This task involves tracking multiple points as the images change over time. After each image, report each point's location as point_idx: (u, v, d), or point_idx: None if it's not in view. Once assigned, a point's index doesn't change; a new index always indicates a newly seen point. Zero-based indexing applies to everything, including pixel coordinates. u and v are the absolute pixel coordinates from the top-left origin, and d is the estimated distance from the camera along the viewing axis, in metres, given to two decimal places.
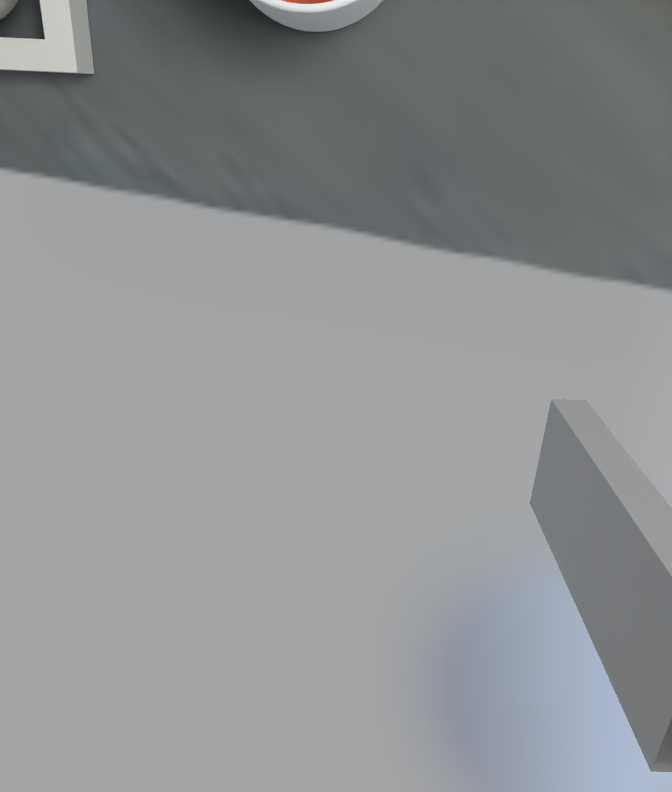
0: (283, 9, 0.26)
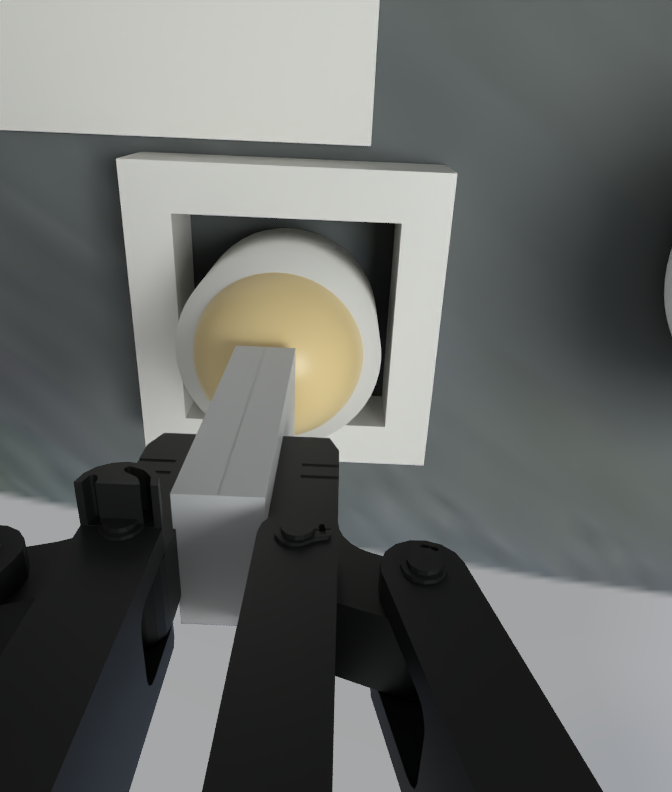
0: None
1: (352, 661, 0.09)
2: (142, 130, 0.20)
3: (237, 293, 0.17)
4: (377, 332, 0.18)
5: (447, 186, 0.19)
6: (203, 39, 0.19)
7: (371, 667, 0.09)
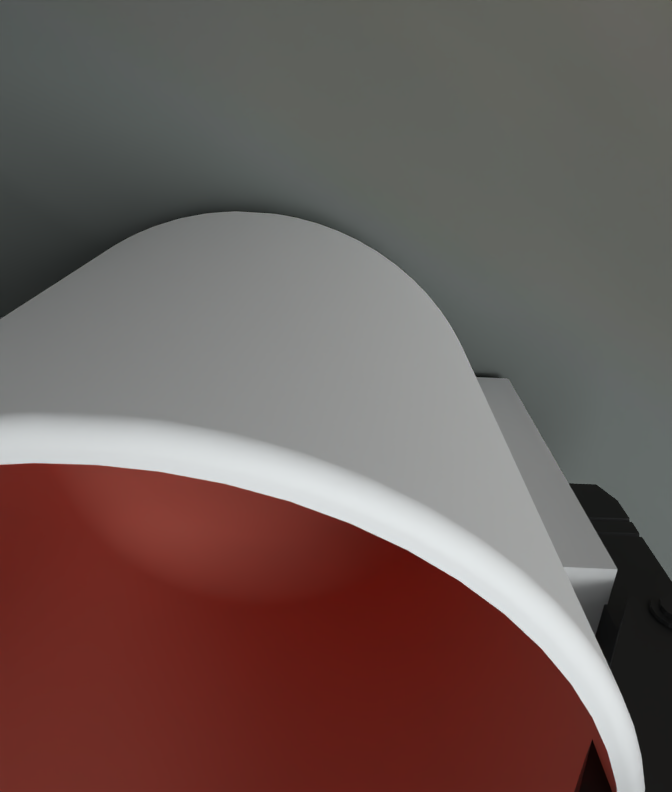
0: None
1: None
2: None
3: None
4: None
5: None
6: None
7: None
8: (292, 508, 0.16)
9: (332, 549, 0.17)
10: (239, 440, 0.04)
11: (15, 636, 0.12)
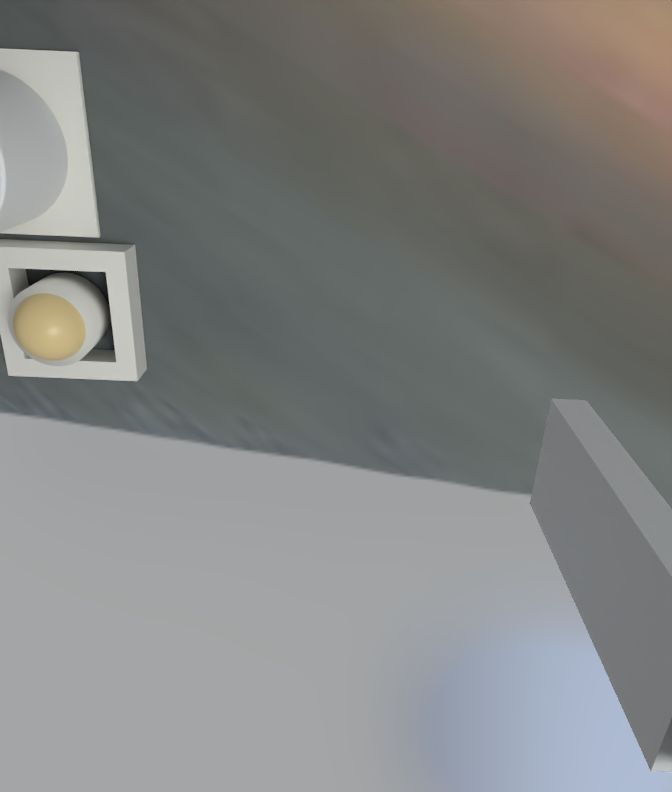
0: None
1: None
2: None
3: (26, 301, 0.43)
4: (89, 317, 0.44)
5: (121, 257, 0.45)
6: None
7: None
8: None
9: None
10: None
11: None
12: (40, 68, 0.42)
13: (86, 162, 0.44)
